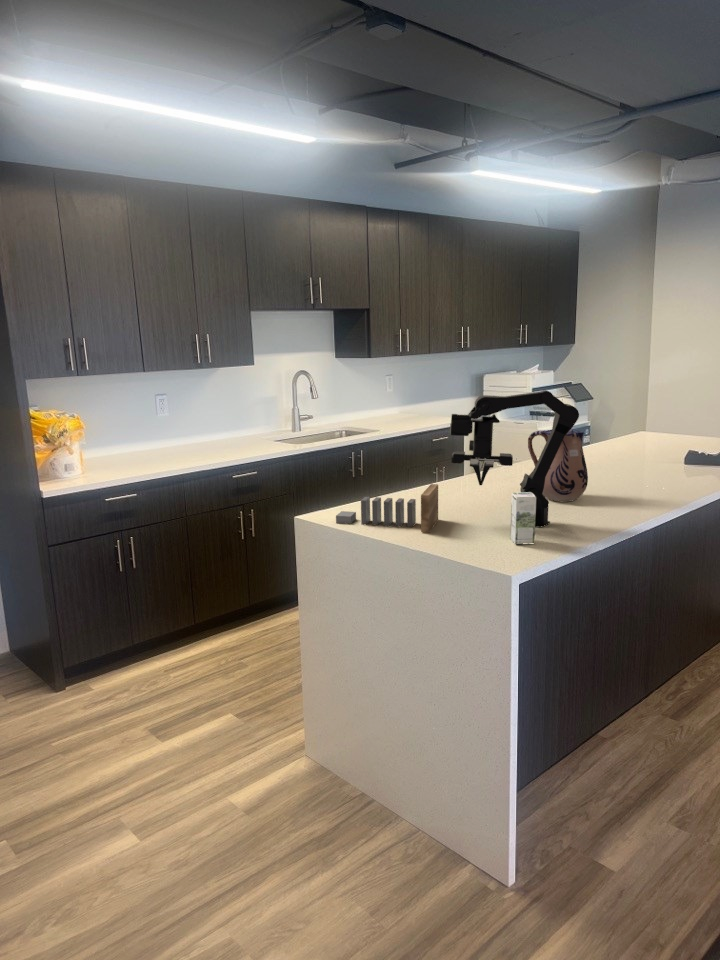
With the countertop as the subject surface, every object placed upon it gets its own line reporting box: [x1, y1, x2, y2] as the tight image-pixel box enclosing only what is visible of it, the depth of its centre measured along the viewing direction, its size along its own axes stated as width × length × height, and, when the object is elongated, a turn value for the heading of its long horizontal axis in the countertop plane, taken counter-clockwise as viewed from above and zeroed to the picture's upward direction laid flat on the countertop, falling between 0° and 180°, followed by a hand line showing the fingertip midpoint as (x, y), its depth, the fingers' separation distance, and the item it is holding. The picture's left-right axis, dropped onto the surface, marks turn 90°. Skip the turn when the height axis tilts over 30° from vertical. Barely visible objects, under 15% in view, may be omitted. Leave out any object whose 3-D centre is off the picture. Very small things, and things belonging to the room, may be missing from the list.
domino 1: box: [360, 496, 371, 525], centre depth 226 cm, size 2×5×8 cm, turn 163°
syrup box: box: [509, 491, 536, 545], centre depth 200 cm, size 6×6×14 cm
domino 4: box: [394, 497, 405, 527], centre depth 223 cm, size 2×5×8 cm, turn 163°
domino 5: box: [406, 498, 417, 528], centre depth 222 cm, size 2×5×8 cm, turn 164°
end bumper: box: [335, 510, 357, 525], centre depth 229 cm, size 5×6×2 cm
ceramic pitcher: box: [527, 428, 589, 502], centre depth 249 cm, size 18×21×25 cm
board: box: [420, 483, 439, 534], centre depth 220 cm, size 2×16×12 cm, turn 163°
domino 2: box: [371, 497, 382, 526], centre depth 225 cm, size 2×5×8 cm, turn 164°
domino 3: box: [383, 497, 394, 526], centre depth 224 cm, size 2×5×8 cm, turn 163°
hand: (480, 485), depth 220 cm, fingers closed
